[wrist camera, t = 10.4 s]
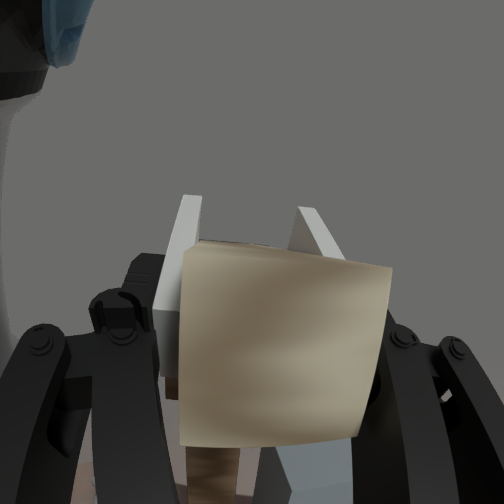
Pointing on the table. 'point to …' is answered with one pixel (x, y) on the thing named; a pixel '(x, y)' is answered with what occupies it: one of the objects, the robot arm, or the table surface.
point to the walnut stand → (208, 466)
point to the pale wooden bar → (276, 345)
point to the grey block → (305, 474)
